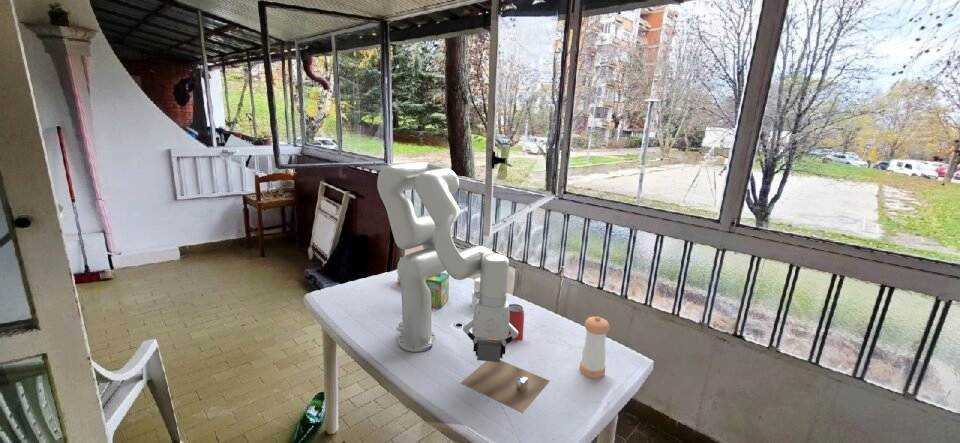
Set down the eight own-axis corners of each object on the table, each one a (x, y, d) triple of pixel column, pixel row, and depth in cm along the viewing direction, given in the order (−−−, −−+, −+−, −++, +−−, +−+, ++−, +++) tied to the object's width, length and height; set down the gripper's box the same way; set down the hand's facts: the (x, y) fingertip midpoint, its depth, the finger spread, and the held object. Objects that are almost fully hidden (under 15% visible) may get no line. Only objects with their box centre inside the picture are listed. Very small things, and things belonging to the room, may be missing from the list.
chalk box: (419, 305, 164) (419, 271, 160) (428, 296, 172) (428, 263, 169) (441, 309, 161) (440, 274, 158) (449, 299, 170) (449, 265, 166)
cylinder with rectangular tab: (480, 298, 172) (481, 271, 168) (498, 304, 167) (499, 276, 163) (467, 305, 164) (467, 278, 161) (485, 312, 159) (486, 284, 156)
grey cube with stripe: (477, 360, 115) (477, 344, 114) (479, 347, 121) (480, 331, 120) (499, 362, 115) (500, 346, 113) (500, 349, 121) (501, 333, 119)
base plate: (460, 387, 116) (460, 382, 115) (491, 360, 128) (491, 356, 128) (522, 417, 105) (522, 412, 104) (549, 385, 117) (550, 380, 117)
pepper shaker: (589, 385, 118) (595, 325, 113) (574, 370, 124) (579, 313, 119) (609, 379, 121) (616, 320, 116) (593, 365, 127) (599, 309, 122)
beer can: (521, 345, 137) (523, 313, 134) (502, 343, 138) (503, 311, 135) (523, 335, 143) (525, 304, 140) (505, 333, 145) (506, 302, 142)
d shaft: (514, 389, 113) (515, 379, 112) (519, 384, 115) (519, 374, 114) (522, 393, 112) (523, 382, 111) (527, 388, 114) (527, 378, 113)
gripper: (459, 301, 110) (457, 359, 115) (524, 307, 109) (519, 365, 114) (463, 289, 117) (461, 344, 122) (524, 294, 116) (519, 349, 121)
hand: (489, 353), depth 118 cm, fingers closed on grey cube with stripe, 6 cm apart
